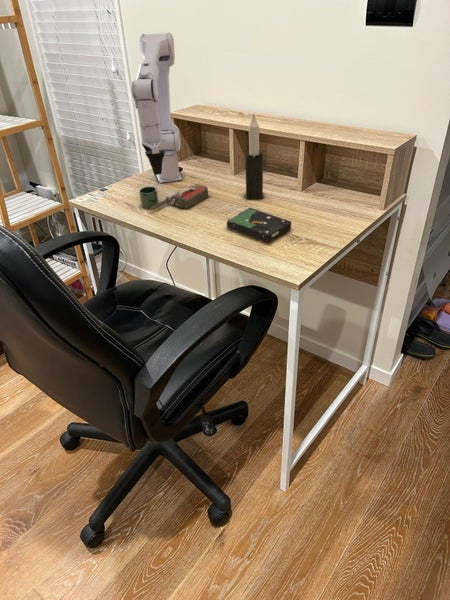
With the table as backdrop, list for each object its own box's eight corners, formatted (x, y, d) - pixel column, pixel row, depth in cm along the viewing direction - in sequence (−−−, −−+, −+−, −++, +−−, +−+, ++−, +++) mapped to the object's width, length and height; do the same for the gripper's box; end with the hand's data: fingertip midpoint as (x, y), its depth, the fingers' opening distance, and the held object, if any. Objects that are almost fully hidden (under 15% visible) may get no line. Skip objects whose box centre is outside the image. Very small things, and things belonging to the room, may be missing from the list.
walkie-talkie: (191, 190, 149) (148, 212, 137) (190, 177, 147) (146, 198, 134) (212, 195, 145) (170, 219, 132) (211, 182, 142) (168, 205, 130)
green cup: (140, 203, 143) (138, 188, 140) (157, 200, 144) (155, 185, 141) (142, 210, 138) (140, 194, 135) (160, 207, 139) (158, 192, 136)
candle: (262, 192, 145) (263, 110, 130) (262, 199, 141) (262, 115, 126) (247, 193, 145) (245, 111, 131) (246, 199, 141) (244, 115, 127)
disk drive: (291, 230, 124) (249, 215, 132) (292, 221, 122) (249, 206, 130) (268, 245, 117) (225, 228, 126) (268, 235, 116) (225, 219, 124)
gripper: (167, 129, 126) (172, 176, 134) (159, 116, 138) (165, 160, 146) (141, 132, 125) (149, 179, 133) (136, 119, 136) (143, 163, 144)
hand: (156, 169), depth 139 cm, fingers open, 7 cm apart
